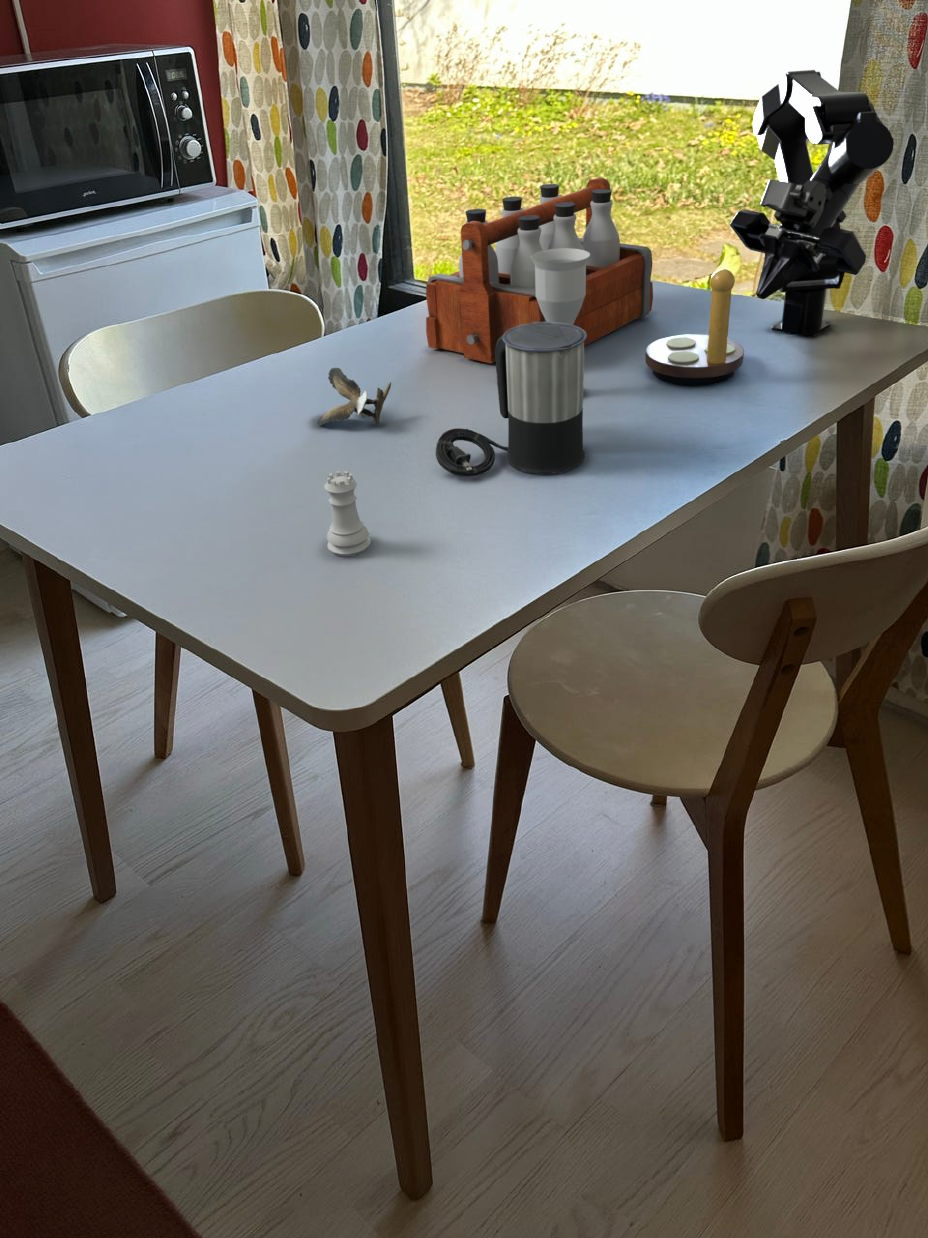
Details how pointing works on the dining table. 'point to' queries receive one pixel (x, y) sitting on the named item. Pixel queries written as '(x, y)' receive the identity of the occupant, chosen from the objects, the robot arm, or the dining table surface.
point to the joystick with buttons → (701, 341)
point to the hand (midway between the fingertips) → (759, 296)
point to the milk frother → (531, 403)
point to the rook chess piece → (345, 517)
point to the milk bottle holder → (505, 277)
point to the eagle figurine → (352, 399)
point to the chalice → (560, 283)
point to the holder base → (692, 379)
